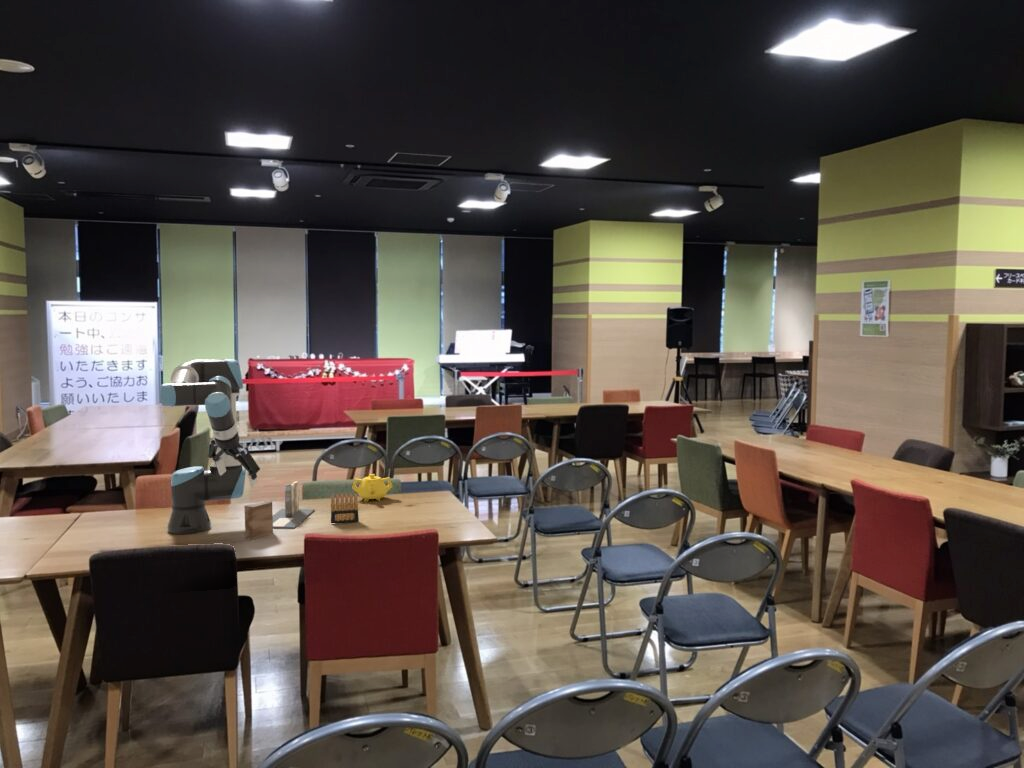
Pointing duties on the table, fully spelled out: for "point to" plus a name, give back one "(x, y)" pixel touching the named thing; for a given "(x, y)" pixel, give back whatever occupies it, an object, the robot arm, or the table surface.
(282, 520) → the mat
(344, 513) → the ammunition clip
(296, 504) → the birch hinge leaf
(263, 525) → the brown rectangular block
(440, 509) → the table surface
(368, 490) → the teapot
